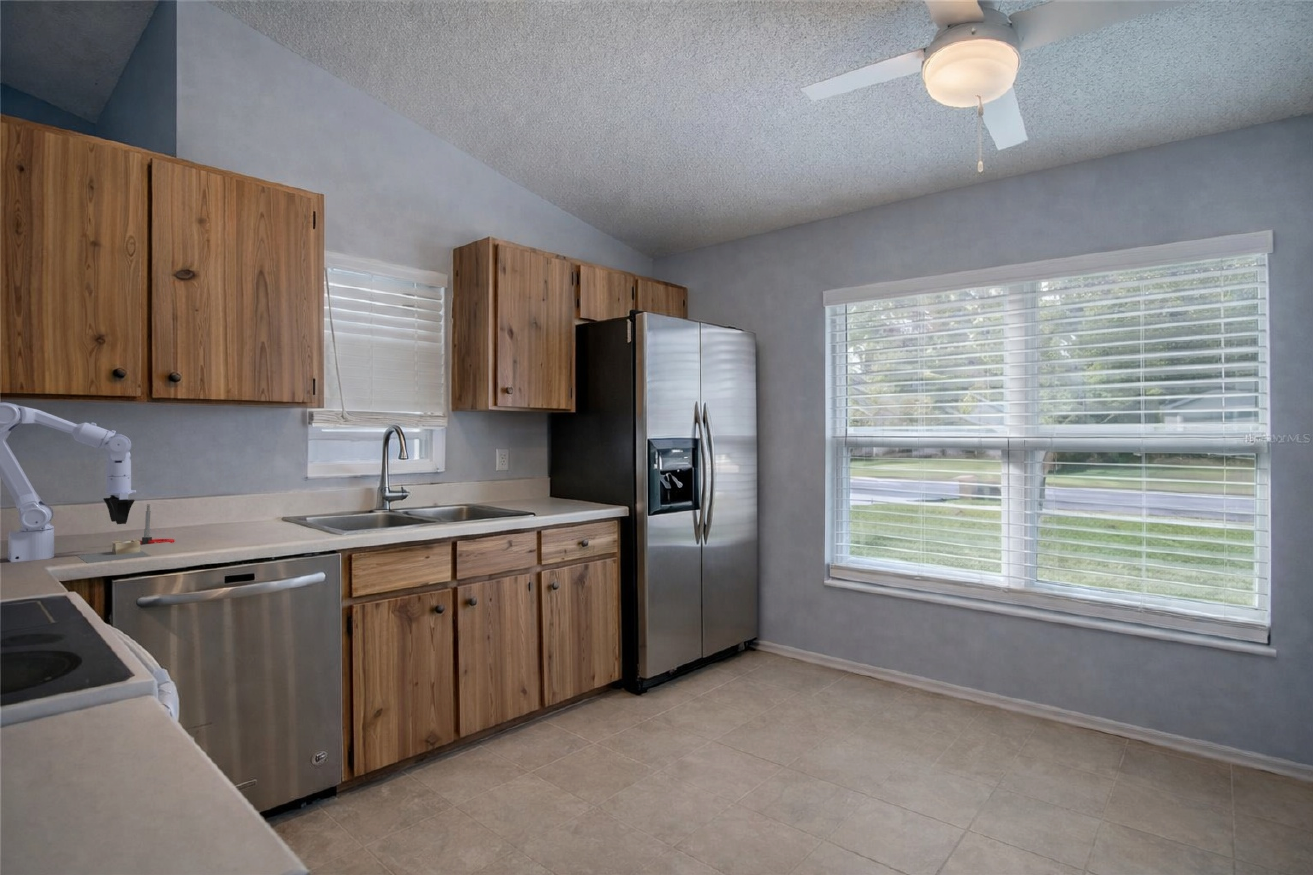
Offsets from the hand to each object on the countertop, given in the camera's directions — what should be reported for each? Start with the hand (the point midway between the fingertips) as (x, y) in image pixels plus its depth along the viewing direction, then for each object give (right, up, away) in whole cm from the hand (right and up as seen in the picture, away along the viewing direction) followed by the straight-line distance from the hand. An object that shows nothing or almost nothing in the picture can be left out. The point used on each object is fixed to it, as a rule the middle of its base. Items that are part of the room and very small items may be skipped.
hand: (118, 522), depth 200 cm
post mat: (+4, -9, -7) cm, 12 cm away
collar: (+3, -8, -1) cm, 9 cm away
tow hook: (-3, -9, +20) cm, 22 cm away
